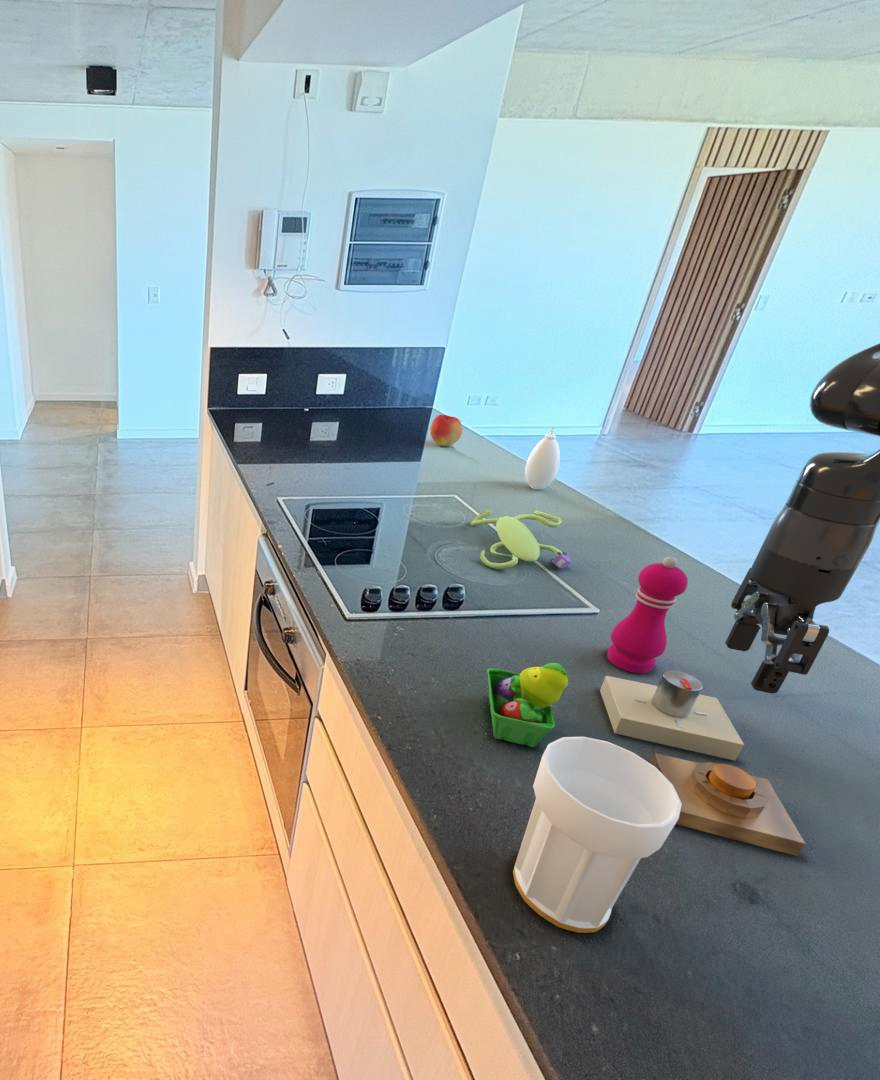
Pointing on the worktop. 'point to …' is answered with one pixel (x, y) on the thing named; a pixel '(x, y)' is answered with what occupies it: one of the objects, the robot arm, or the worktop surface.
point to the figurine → (520, 539)
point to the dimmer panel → (669, 720)
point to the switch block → (729, 807)
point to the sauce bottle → (543, 462)
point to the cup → (590, 830)
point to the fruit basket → (525, 702)
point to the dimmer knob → (676, 693)
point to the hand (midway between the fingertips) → (748, 668)
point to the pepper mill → (647, 618)
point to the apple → (446, 430)
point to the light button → (732, 781)
